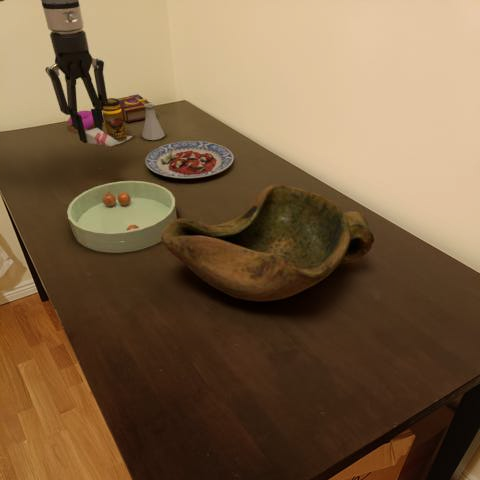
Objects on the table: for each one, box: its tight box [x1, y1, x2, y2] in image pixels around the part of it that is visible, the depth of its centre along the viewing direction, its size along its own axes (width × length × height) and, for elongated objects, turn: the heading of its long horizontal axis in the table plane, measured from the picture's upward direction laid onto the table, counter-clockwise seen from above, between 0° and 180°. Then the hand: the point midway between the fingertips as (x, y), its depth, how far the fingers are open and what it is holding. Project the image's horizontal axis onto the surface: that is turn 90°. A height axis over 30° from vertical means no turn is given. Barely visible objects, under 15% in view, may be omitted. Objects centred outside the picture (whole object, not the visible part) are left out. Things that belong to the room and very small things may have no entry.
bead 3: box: [126, 225, 139, 231], centre depth 96 cm, size 3×3×3 cm
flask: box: [141, 102, 166, 141], centre depth 140 cm, size 7×7×10 cm
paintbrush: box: [66, 123, 121, 147], centre depth 109 cm, size 4×3×20 cm
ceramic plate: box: [145, 140, 234, 180], centre depth 126 cm, size 26×26×3 cm
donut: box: [67, 110, 95, 130], centre depth 148 cm, size 10×10×5 cm
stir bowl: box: [66, 180, 178, 254], centre depth 102 cm, size 25×25×5 cm
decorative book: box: [117, 93, 152, 123], centre depth 157 cm, size 11×16×5 cm
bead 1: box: [103, 193, 116, 206], centre depth 107 cm, size 3×3×3 cm
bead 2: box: [118, 192, 131, 206], centre depth 107 cm, size 3×3×3 cm
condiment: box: [102, 97, 133, 145], centre depth 138 cm, size 7×8×12 cm
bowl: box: [161, 183, 375, 302], centre depth 83 cm, size 39×29×15 cm
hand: (92, 138), depth 110 cm, fingers closed on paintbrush, 4 cm apart
